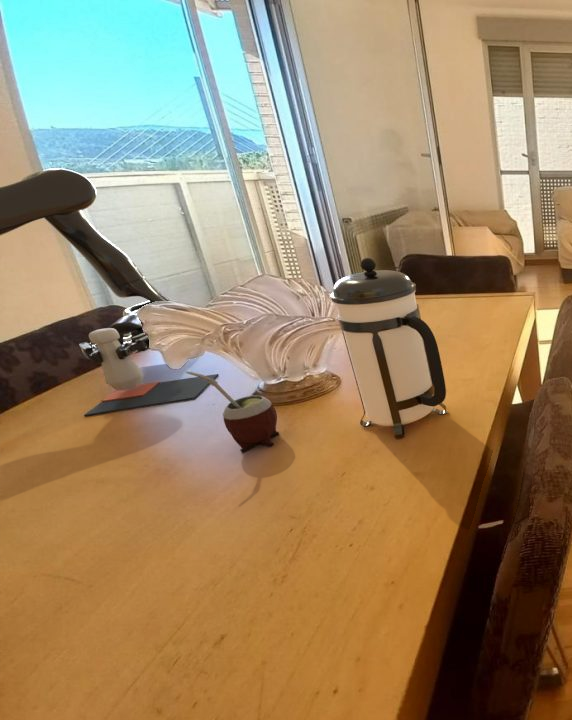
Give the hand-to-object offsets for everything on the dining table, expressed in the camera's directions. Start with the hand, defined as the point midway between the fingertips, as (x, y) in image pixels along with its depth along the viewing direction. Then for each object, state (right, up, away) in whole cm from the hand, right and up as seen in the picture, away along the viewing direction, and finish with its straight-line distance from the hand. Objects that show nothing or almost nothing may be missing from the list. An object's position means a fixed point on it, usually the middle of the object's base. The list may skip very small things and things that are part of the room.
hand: (108, 356), depth 97 cm
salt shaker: (-1, -7, +5) cm, 9 cm away
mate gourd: (+42, -15, -15) cm, 47 cm away
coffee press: (+66, -12, -9) cm, 68 cm away
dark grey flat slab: (+5, -8, +5) cm, 11 cm away
